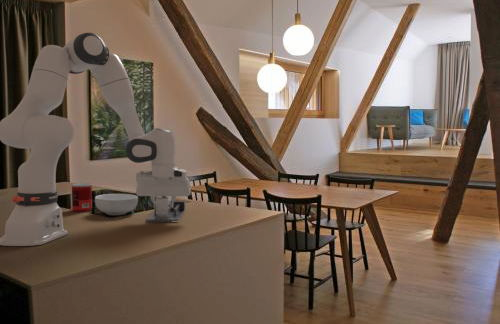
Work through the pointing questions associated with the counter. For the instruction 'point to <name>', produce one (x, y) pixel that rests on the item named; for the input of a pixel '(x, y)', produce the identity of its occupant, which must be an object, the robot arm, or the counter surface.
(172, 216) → the coupler rail
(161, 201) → the lock block
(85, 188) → the canned food
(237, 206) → the counter surface
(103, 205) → the cereal bowl
